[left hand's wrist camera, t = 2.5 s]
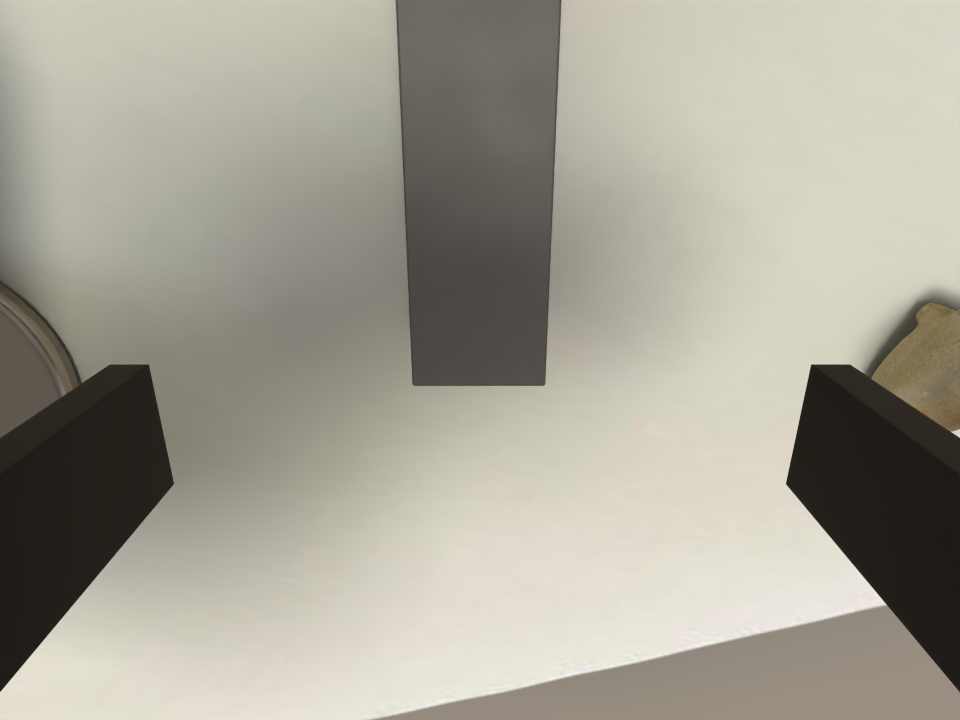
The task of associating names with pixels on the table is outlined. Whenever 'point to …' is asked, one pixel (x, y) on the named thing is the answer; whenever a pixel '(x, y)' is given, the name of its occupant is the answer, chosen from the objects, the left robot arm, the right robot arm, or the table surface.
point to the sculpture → (928, 366)
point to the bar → (478, 185)
